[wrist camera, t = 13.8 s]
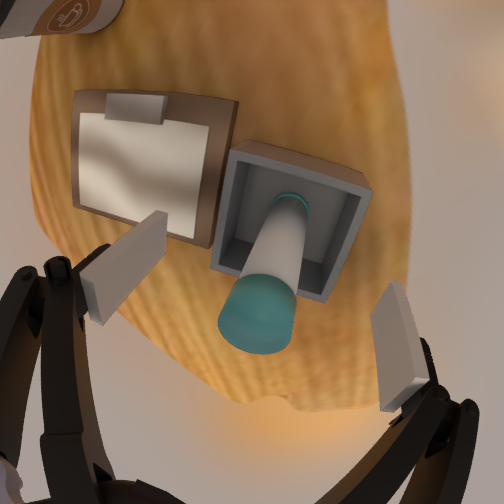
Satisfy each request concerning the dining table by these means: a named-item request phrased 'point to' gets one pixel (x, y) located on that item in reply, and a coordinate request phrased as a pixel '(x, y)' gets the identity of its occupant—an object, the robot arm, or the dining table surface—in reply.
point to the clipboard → (152, 157)
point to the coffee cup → (55, 16)
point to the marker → (268, 281)
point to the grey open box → (305, 184)
